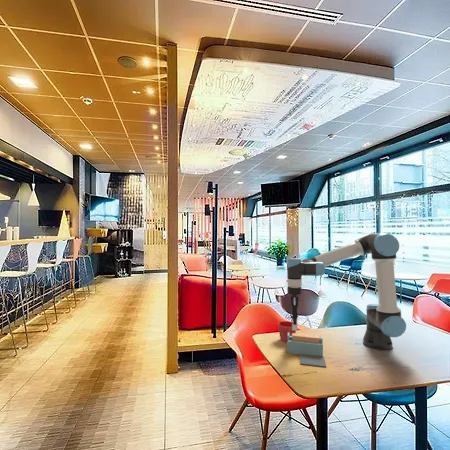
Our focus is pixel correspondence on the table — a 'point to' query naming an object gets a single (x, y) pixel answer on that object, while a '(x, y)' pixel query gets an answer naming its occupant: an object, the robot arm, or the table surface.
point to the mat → (312, 361)
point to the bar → (305, 338)
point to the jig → (305, 347)
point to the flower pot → (285, 330)
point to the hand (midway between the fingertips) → (294, 329)
